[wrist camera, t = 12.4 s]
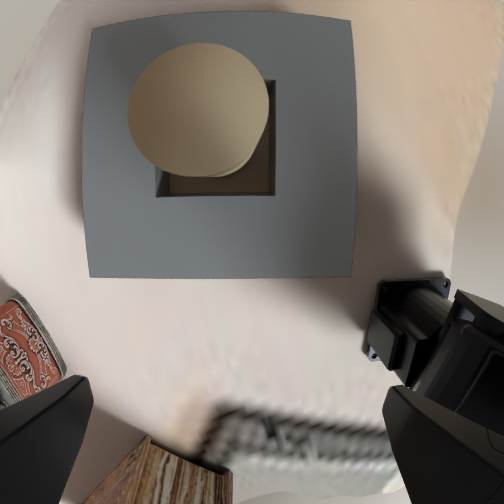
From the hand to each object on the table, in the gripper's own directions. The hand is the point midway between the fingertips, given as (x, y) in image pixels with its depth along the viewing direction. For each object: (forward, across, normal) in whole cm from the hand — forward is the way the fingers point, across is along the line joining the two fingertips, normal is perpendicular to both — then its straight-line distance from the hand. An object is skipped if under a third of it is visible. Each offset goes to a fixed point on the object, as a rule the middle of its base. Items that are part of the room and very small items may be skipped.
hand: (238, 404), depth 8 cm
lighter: (+13, +17, +7) cm, 22 cm away
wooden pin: (+12, +2, -8) cm, 14 cm away
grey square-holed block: (+13, +2, -8) cm, 15 cm away
